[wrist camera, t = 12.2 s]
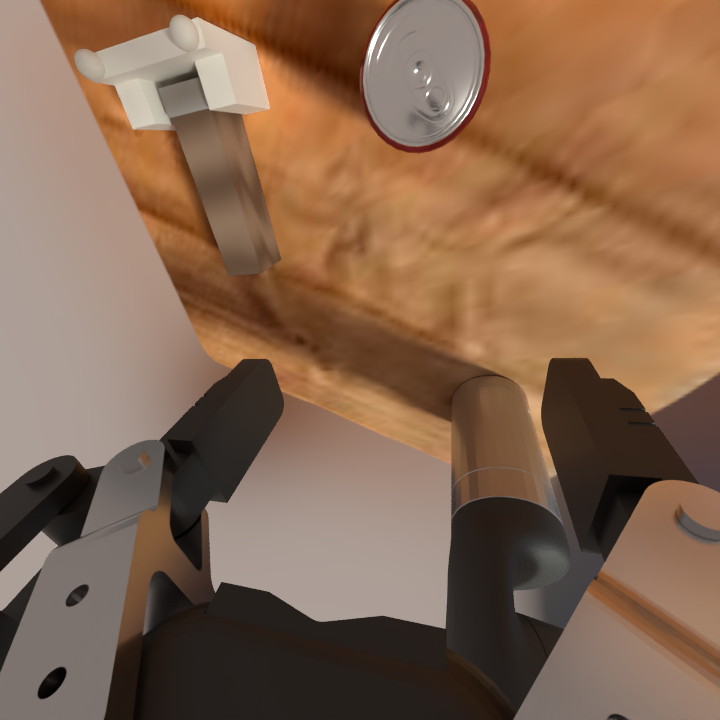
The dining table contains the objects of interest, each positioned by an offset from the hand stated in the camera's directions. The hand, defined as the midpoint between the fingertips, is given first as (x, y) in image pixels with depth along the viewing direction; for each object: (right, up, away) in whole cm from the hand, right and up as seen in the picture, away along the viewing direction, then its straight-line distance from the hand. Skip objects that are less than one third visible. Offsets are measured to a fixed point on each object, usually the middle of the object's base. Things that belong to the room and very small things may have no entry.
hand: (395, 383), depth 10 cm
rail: (-13, +19, +26) cm, 35 cm away
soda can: (+5, +23, +18) cm, 30 cm away
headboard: (-15, +26, +21) cm, 37 cm away
